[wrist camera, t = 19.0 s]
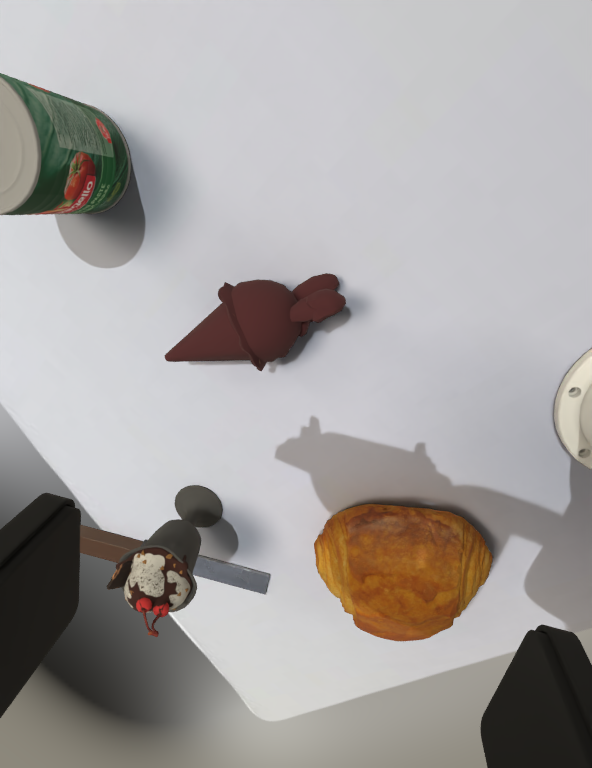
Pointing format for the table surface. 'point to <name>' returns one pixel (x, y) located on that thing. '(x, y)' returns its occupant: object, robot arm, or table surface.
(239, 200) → the table surface
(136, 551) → the sundae
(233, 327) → the icecream
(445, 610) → the croissant
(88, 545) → the knife
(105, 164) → the canned tomato
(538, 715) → the robot arm
